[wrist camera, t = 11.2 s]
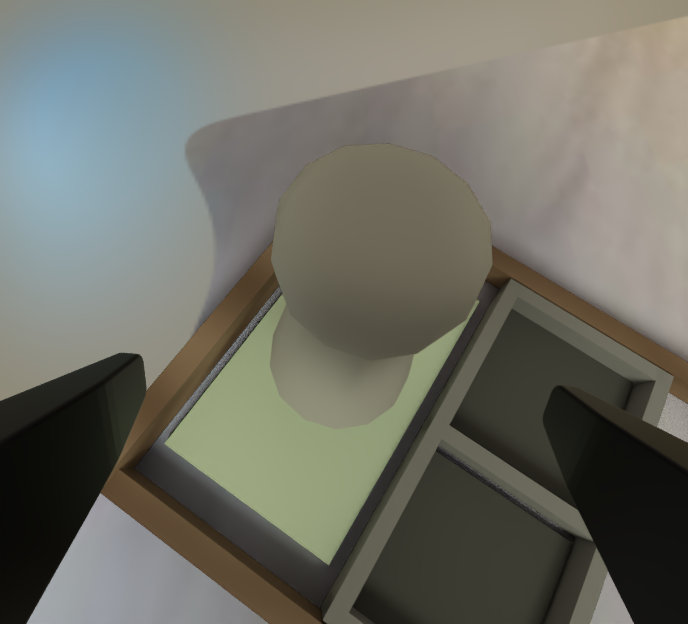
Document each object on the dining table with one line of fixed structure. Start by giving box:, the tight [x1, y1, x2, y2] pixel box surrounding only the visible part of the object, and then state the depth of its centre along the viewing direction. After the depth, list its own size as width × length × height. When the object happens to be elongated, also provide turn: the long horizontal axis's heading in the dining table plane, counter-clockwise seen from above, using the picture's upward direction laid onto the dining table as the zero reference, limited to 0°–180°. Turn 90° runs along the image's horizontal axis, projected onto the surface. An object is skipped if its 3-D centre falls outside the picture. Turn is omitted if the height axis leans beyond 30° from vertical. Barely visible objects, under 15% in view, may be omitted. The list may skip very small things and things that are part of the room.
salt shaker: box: [270, 143, 493, 430], centre depth 13 cm, size 6×6×13 cm
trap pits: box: [321, 279, 674, 624], centre depth 18 cm, size 17×9×2 cm, turn 147°
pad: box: [164, 294, 480, 565], centre depth 19 cm, size 14×8×1 cm, turn 147°
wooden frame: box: [100, 242, 688, 624], centre depth 18 cm, size 19×30×2 cm, turn 57°
